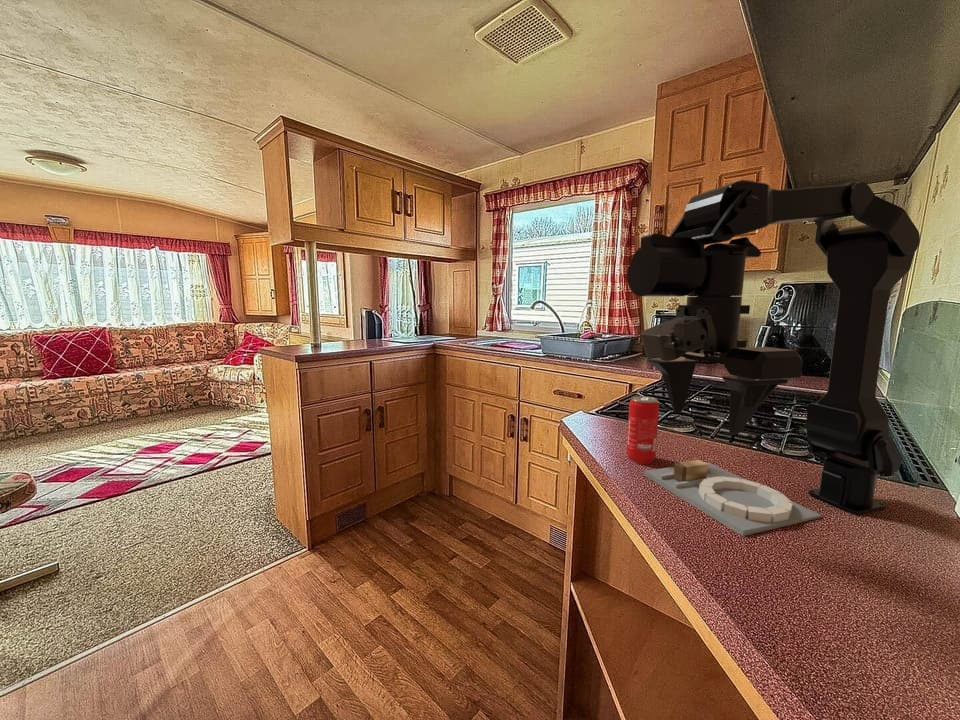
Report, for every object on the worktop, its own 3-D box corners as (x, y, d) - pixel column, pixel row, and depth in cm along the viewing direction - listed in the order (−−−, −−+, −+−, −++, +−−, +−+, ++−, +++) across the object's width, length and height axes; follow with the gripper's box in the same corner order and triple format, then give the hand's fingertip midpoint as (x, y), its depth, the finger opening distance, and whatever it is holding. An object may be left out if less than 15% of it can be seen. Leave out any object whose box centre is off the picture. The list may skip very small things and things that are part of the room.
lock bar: (697, 473, 67) (698, 459, 66) (706, 478, 65) (707, 464, 65) (673, 477, 65) (674, 463, 65) (681, 482, 64) (682, 467, 63)
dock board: (707, 466, 73) (708, 455, 72) (820, 520, 55) (822, 507, 54) (643, 475, 69) (644, 464, 69) (742, 536, 51) (744, 522, 50)
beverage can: (624, 461, 75) (628, 400, 73) (627, 452, 79) (631, 394, 77) (653, 467, 72) (658, 403, 70) (656, 457, 77) (660, 397, 75)
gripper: (611, 297, 54) (606, 407, 57) (721, 295, 36) (707, 455, 39) (680, 297, 57) (672, 402, 59) (815, 295, 39) (797, 446, 41)
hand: (703, 421), depth 50 cm, fingers open, 9 cm apart
